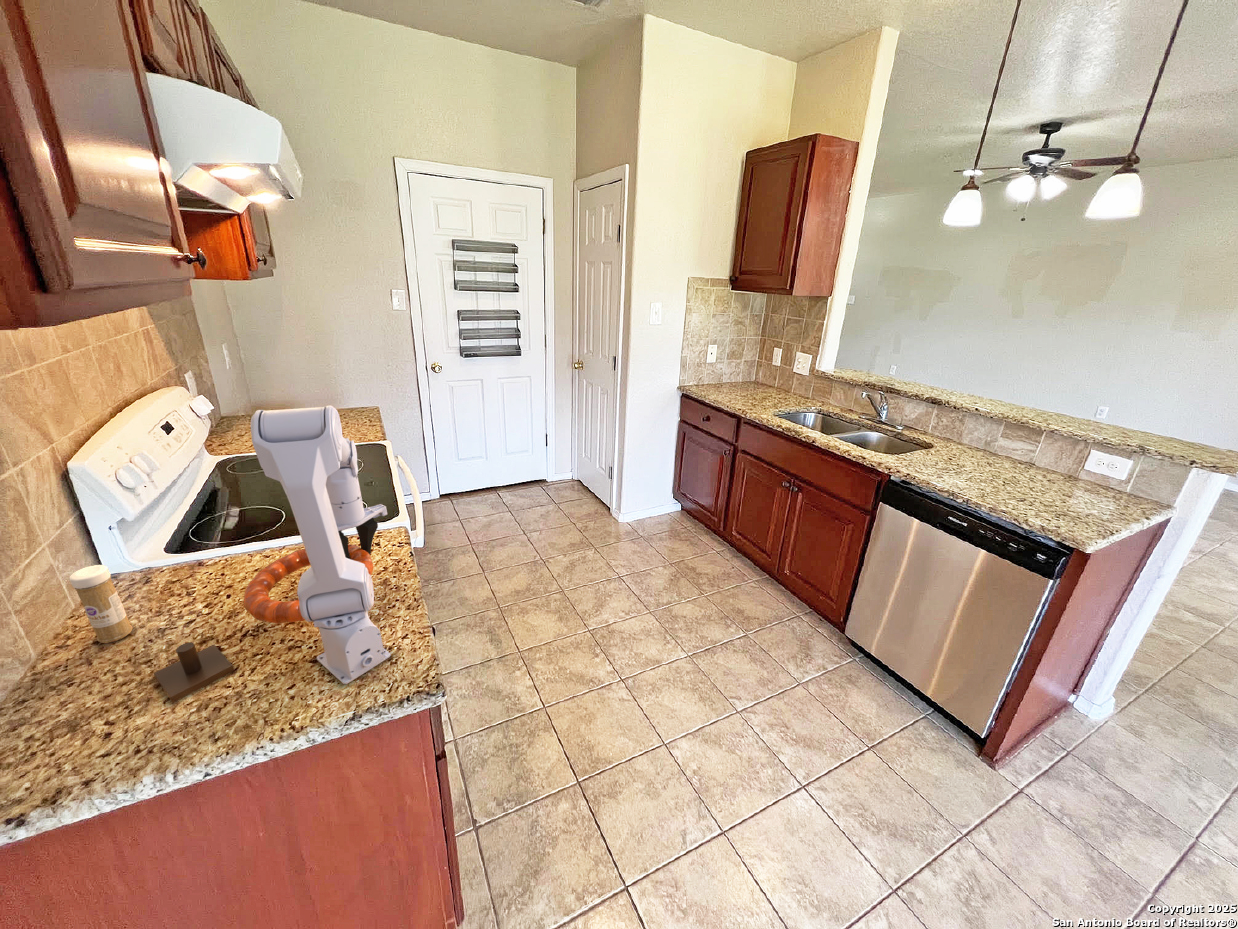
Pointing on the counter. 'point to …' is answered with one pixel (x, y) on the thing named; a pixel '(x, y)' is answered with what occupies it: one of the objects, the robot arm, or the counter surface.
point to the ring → (276, 571)
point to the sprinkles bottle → (101, 603)
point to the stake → (192, 670)
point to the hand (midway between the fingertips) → (356, 558)
